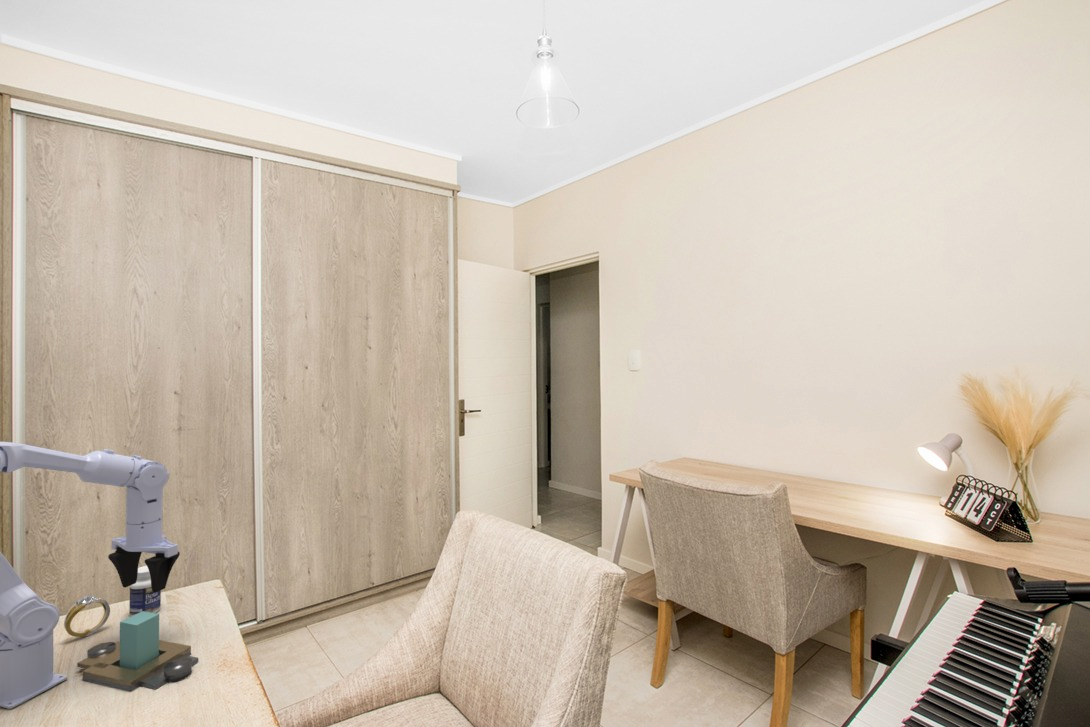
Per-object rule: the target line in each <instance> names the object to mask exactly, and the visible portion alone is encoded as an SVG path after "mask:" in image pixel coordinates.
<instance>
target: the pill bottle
mask: <svg viewBox="0 0 1090 727" xmlns="http://www.w3.org/2000/svg"><path fill="white" fill-rule="evenodd" d="M161 595H162V590H160V591H158V592H156V593H155V592H153V591H152V588H151V577H150V572H149V569H148V567H147V565H143V566H140V567H138V575H137V581H136V583H135V584H133V585H130V586H129V610H128V612H129V614H128V615H129V617H131V616H133V615H135V614H138V613H140V612H142V611H145V612H150V613H155V614H157V613H158V612H159V611H160V609H161V606H162V605H161V599H162V596H161Z"/></svg>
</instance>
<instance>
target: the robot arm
mask: <svg viewBox="0 0 1090 727" xmlns="http://www.w3.org/2000/svg"><path fill="white" fill-rule="evenodd" d="M115 451H116V450H112V449H107V448H104V449H103V450H93V451H91V452H89V453H87V454H85V455H84V454H83V455H80V454H74V453H71V452H65V451H59V450H55V449H49V448H44V447H39V446H34V445H30V444H24V443H19V442H12V441H11V442H10V441H0V473H1V472H2V473H5V474H9V473H12V472H15V471H18V470H20V469H22V468H24V467H25V468H34V469H41V470H42V469H43V470H48V471H49V470H51V471H58V472H59V471H60V472H66V473H67V472H68V473H75V474H77V476H78V477H79V479H80V481H82V482H84V483H90V484H91V483H93V484H99V485H104V486H111V487H118V488H119V487H120V488H123V487H125V488H126V496H125V497H126V498H125V499H126V501H125V503H126V505H125V509H126V510H125V536H120V537H116V538H113V539H111V550H115V551H114V552H112V553H110V554H108V556H107V558H108V560H109V561H110V562H111V563H112V564H113V565H114V567H115V569H116V571H117V574H118V577H119V580H120V583H121V586H122V588H127V587H130V585H133V584H135V583H136V581H137V575H138V568H139V564H140V559H141V556H142V554H143V553H146V554H147V553H148V554H154V555H155V556H152V557H149V558H146V559H144V563H145V566H147V567H148V569H149V572H150V577H151V588H152V591H153V592H155V593H156V592H158V591H160V590H161V591H162V590H164V589H166V587H167V584H168V580H169V576H170V574H171V572H172V569H173V567H174V565H175V563H176V562H177V560H178V558H179V557H180V551H179V544H178V543H173V542H172V541H169V540H167V538H168V536H167V535H165V534H163V520H164V519H163V510H164V509H163V506H164V505H163V499H164V498H163V497H164V494H163V492H164V487H165V486H166V484H168V482H169V479H170V476H171V474H170V472H168V469H167V467H166V466H165V465H164V464H163V463H161V462H159V461H155V460H151V459H146V458H142V456H141V455H135V454H133V455H132V456H127V455H123V454H117V453H115ZM60 616H61V614H60V610H59V608H58V607H57V606H56V605H55V604H52V603H49V602H47V601H45V600H43V599H41V597H40V596H39V595H38V594H37V593H36V592H35V591H33V589H31V588H30V587H29V586H28V585H27V584H26V583H25V582H24V581H23V579H22V578H21V577H20V575H19V574H18V572H17V571H16V570H15V569H14V567H13V566H12V565H11V563H10V562H9V561H8V559H7V558H6V557H5V555H4V554H3V553H2V551H0V707H2V708H6V709H8V710H9V709H10V710H11V709H14V708H15V707H17V706H19V705H21V704H23V703H25V702H27V701H28V700H30V699H32V698H35V697H37V696H39V695H40V694H41V693H43V692H45V691H48V690H49V689H51V688H53V687H55V686H57V685H59V684H60V683H62V682H64V681H65V680H67V679H68V676H67V675H64V674H60V673H55V672H54V629H55V628H56V627H57V626H58V624H59V620H60Z"/></svg>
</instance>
